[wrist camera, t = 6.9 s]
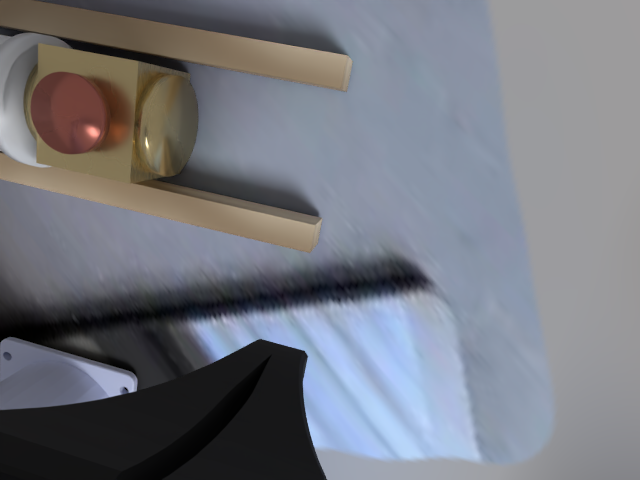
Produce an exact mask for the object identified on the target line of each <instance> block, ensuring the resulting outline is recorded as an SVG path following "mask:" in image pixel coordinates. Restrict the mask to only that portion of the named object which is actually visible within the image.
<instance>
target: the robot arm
mask: <svg viewBox="0 0 640 480" xmlns="http://www.w3.org/2000/svg"><path fill="white" fill-rule="evenodd" d="M10 354H11V355H10ZM307 358H308V356H307V354H306V353H305V351H303V350H299V349H295V348H292V347H288V346H284V345H280V344H277V343H273V342H269V341H266V340H262V339H259V340H257V341H255V342H253V343H251V344H249V345H247V346H245V347H243V348H241V349H239V350H238V351H236V352H234V353H232V354H230V355H228V356H226V357H224V358H222V359H220V360H218V361H216V362H214V363H212V364H210V365H207V366H205V367H203V368H200V369H198V370H196V371H193V372H191V373H189V374H186V375H184V376H182V377H179V378H176V379H174V380H171V381H168V382H165V383H162V384H159V385H156V386H152V387H149V388H146V389H143V390H139V391H137V378H136V376H135V374H134V373H132V372H130V371H127V370H124V369H121V368H117V367H114V366H110V365H107V364H103V363H100V362H97V361H93V360H90V359H86V358H83V357H79V356H76V355H72V354H69V353H66V352H62V351H59V350H55V349H52V348H48V347H45V346H42V345H38V344H35V343H31V342H28V341H24V340H21V339H18V338H14V337H8V338H6V339H4V340H2V342H1V344H0V480H327V479H326V476H325V474H324V472H323V470H322V467H321V465H320V463H319V460H318V458H317V455H316V452H315V449H314V446H313V443H312V439H311V436H310V432H309V428H308V423H307V418H306V412H305V406H304V398H303V378H304V373H305V368H306V363H307ZM124 387H126V388H127V389H128V391H127V390H125V388H124Z"/></svg>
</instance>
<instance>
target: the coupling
mask: <svg viewBox="0 0 640 480" xmlns="http://www.w3.org/2000/svg"><path fill="white" fill-rule="evenodd" d="M38 43H41V44H47V45H52V46H58V47H63V48H69V49H72V48H71V47H70V46H69V45H68V44H67V43H65V42H64V41H62V40H60V39H58V38H55V37H53V36H48V35H42V34H37V33H22V34H18V35H15V36H13V37H10V36H5V35H0V151H2V152H3V153H4V154H5V155H7V156H8V157H9V158H11V159H13V160H15V161H17V162H20V163H23V164H27V165H31V166H36V167H42V168H43V167H52V166H48V165H43V164H39V163H36V151H37V141H36V140H35V139H34V137H33V136H32V135H31V133H30V131H29V129H28V126H27V123H26V120H25V115H24V107H23V98H24V90H25V86H26V82H27V79H28V77H29V75H30V73H31V71H32V69H33V68H34V67H35V65H36V64H37V63H38Z"/></svg>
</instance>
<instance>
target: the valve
mask: <svg viewBox="0 0 640 480" xmlns="http://www.w3.org/2000/svg"><path fill="white" fill-rule="evenodd" d="M23 107H24V115H25V120H26V123H27V126H28V129H29V131H30V133H31V135H32V136H33V137H34V139H35V140H36V141H37V151H36V163H39V164H43V165H48V166H52V167H57V168H61V169H66V170H70V171H75V172H79V173H84V174H88V175H93V176H97V177H102V178H106V179H111V180H115V181H120V182H124V183H129V184H131V183H136V182H141V181H146V180H151V179H156V178H161V177H166V176H167V177H170V176H174V175H176V174H180V173H181V170H182V169H183V168H184V166H185V165H186V163H187V162H188V160H189V158H190V156H191V153H192V151H193V148H194V144H195V141H196V136H197V129H198V104H197V99H196V95H195V92H194V89H193V87H192V85H191V84H190V74H189V73H185V72H181V71H177V70H173V69H169V68H165V67H160V66H156V65H152V64H148V63H144V62H140V61H135V60H129V59H124V58H118V57H113V56H107V55H102V54H96V53H91V52H85V51H80V50H74V49H69V48H63V47H58V46H52V45H47V44H41V43H38V63H37V64H36V65H35V67H34V68H33V69H32V71H31V73H30V75H29V77H28V79H27V82H26V86H25V90H24V98H23Z"/></svg>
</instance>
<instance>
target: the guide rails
mask: <svg viewBox="0 0 640 480" xmlns="http://www.w3.org/2000/svg"><path fill="white" fill-rule="evenodd" d="M0 27H3V28H8V29H13V30H19V31H24V32H29V33H37V34H42V35H48V36H53V37H56V38H61V39H67V40H72V41H77V42H83V43H88V44H93V45H99V46H104V47H109V48H115V49H120V50H125V51H131V52H136V53H142V54H147V55H152V56H158V57H163V58H168V59H174V60H179V61H184V62H190V63H195V64H200V65H206V66H211V67H216V68H222V69H227V70H232V71H238V72H243V73H248V74H254V75H259V76H264V77H270V78H275V79H280V80H286V81H291V82H297V83H302V84H307V85H313V86H318V87H323V88H329V89H334V90H339V91H345V92H347V88H348V83H349V78H350V73H351V68H352V62H353V61H352V60H351V59H350V58H349V57H348V56H347V55H342V54H337V53H331V52H325V51H319V50H314V49H308V48H302V47H297V46H291V45H285V44H280V43H274V42H268V41H263V40H257V39H251V38H246V37H240V36H234V35H229V34H223V33H217V32H211V31H206V30H200V29H194V28H189V27H183V26H177V25H172V24H166V23H160V22H155V21H149V20H143V19H138V18H132V17H126V16H121V15H115V14H109V13H103V12H98V11H92V10H86V9H81V8H75V7H69V6H64V5H58V4H52V3H47V2H41V1H35V0H0ZM0 179H3V180H7V181H11V182H15V183H19V184H24V185H28V186H32V187H36V188H40V189H45V190H49V191H53V192H57V193H61V194H66V195H70V196H74V197H78V198H82V199H86V200H91V201H95V202H99V203H103V204H107V205H112V206H116V207H120V208H124V209H128V210H133V211H137V212H141V213H145V214H149V215H153V216H158V217H162V218H166V219H170V220H174V221H179V222H183V223H187V224H191V225H195V226H200V227H204V228H208V229H212V230H216V231H221V232H225V233H229V234H233V235H237V236H241V237H246V238H250V239H254V240H258V241H262V242H267V243H271V244H275V245H279V246H283V247H288V248H292V249H296V250H300V251H304V252H308V253H310V252H311V251H312V250H313V249H314V247H315V246H316V245H317V244H318V239H319V233H320V228H321V223H322V218H320V217H316V216H311V215H307V214H303V213H298V212H294V211H289V210H285V209H281V208H276V207H272V206H267V205H263V204H259V203H254V202H250V201H245V200H241V199H237V198H232V197H228V196H223V195H219V194H215V193H210V192H206V191H201V190H197V189H193V188H188V187H184V186H179V185H175V184H170V183H166V182H162V181H157V180H153V179H151V180H146V181H141V182H136V183H131V184H129V183H124V182H120V181H115V180H111V179H106V178H102V177H97V176H93V175H88V174H84V173H79V172H75V171H70V170H66V169H61V168H57V167H43V168H42V167H36V166H31V165H27V164H23V163H20V162H17V161H15V160H13V159H11V158H9V157H8V156H7V155H5V154H4V153H3V152H2V151H0Z"/></svg>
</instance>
